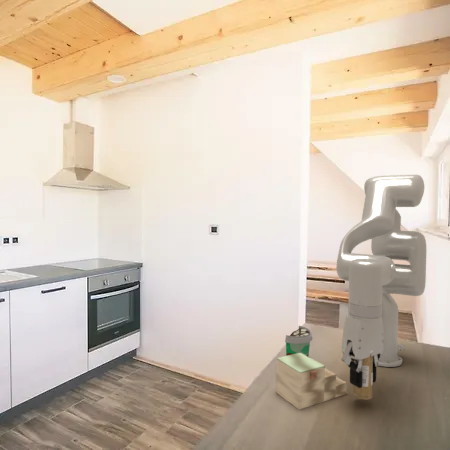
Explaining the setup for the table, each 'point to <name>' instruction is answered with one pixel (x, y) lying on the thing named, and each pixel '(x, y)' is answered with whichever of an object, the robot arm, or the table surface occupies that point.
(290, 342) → the food container
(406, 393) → the table surface
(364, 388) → the spice jar
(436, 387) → the table surface
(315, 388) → the step stand
